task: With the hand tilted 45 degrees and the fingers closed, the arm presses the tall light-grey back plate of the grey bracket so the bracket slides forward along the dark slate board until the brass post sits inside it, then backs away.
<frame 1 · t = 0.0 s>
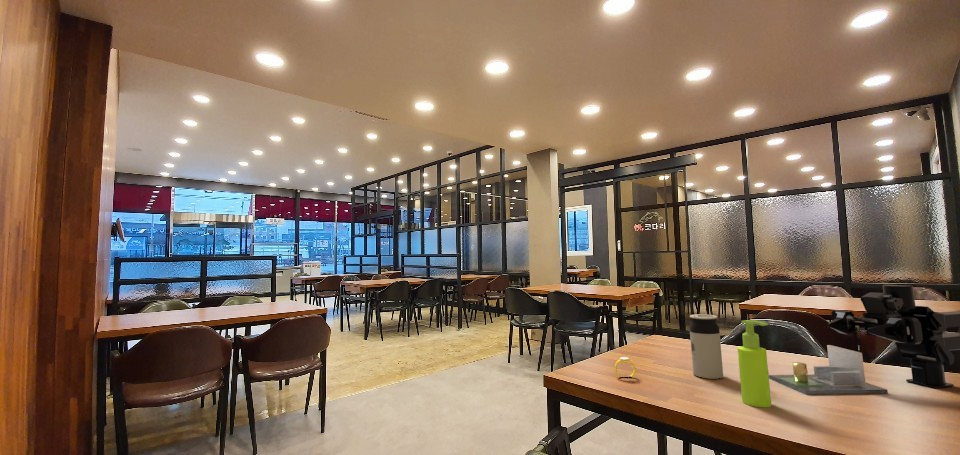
hand: (848, 327, 103), 17 cm above the table, tool horizontal, fingers open, 9 cm apart
travel mug: (708, 376, 120), on the table
soap dispenser: (758, 404, 96), on the table
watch: (625, 378, 121), on the table
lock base: (824, 385, 108), on the table
grey bracket: (834, 364, 108), point 6 cm above the table, slide at 0.0 cm
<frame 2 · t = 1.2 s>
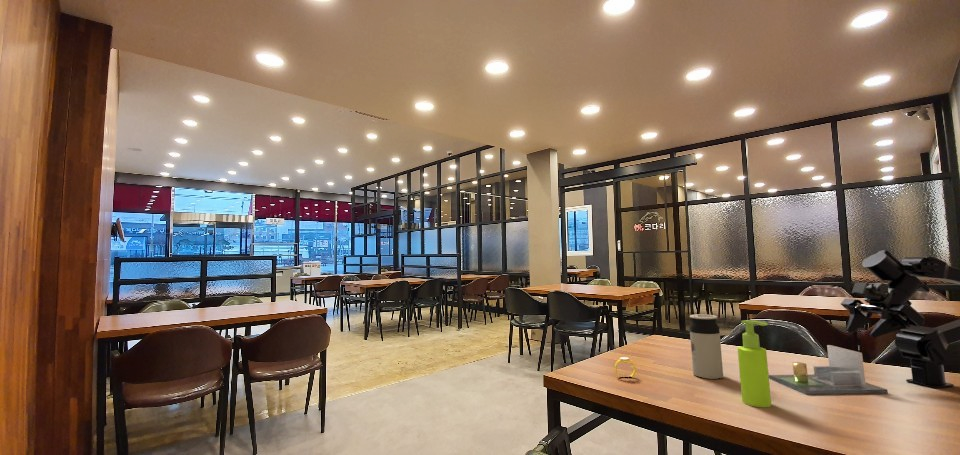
hand: (859, 334, 108), 14 cm above the table, tool tilted 45°, fingers open, 7 cm apart
nothing on the table moved.
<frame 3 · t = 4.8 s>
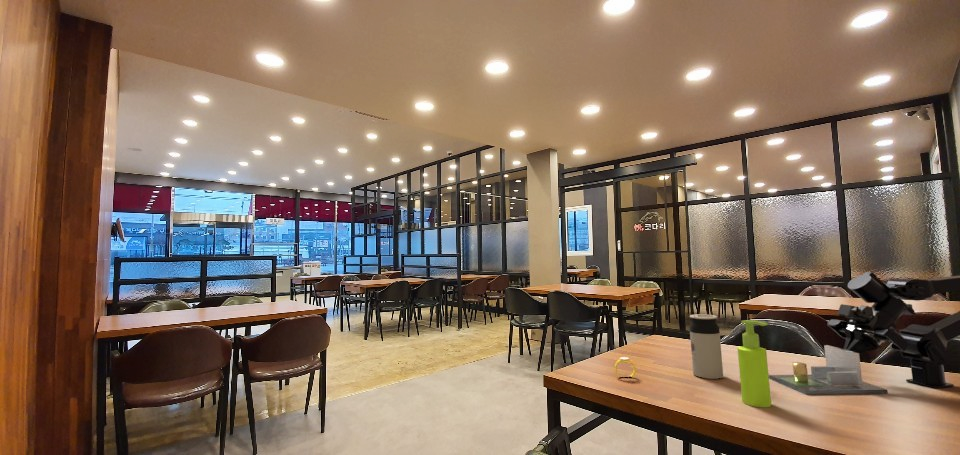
hand: (844, 356, 108), 8 cm above the table, tool tilted 45°, fingers closed, pressing on grey bracket
grey bracket: (832, 364, 108), point 5 cm above the table, slide at 0.8 cm, touching gripper
everything else where it was.
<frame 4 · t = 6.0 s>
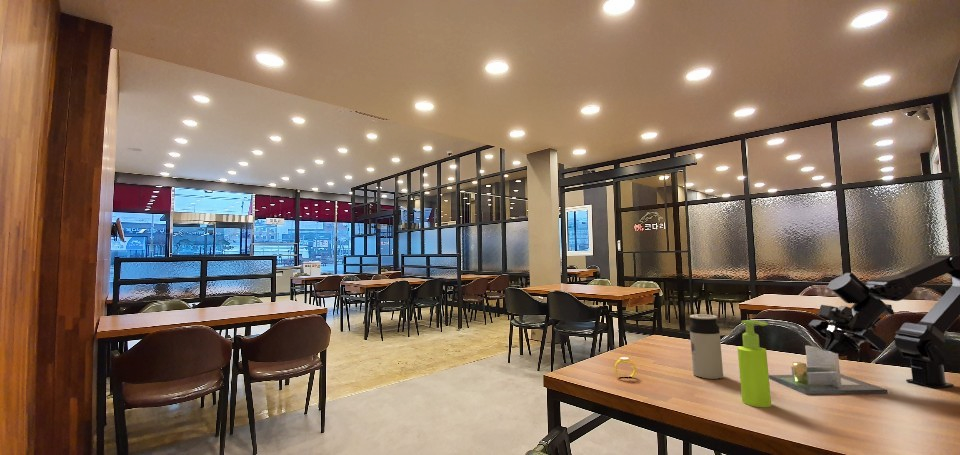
hand: (824, 356, 109), 8 cm above the table, tool tilted 45°, fingers closed, pressing on grey bracket
grey bracket: (812, 365, 109), point 5 cm above the table, slide at 6.0 cm, touching gripper
everything else where it was.
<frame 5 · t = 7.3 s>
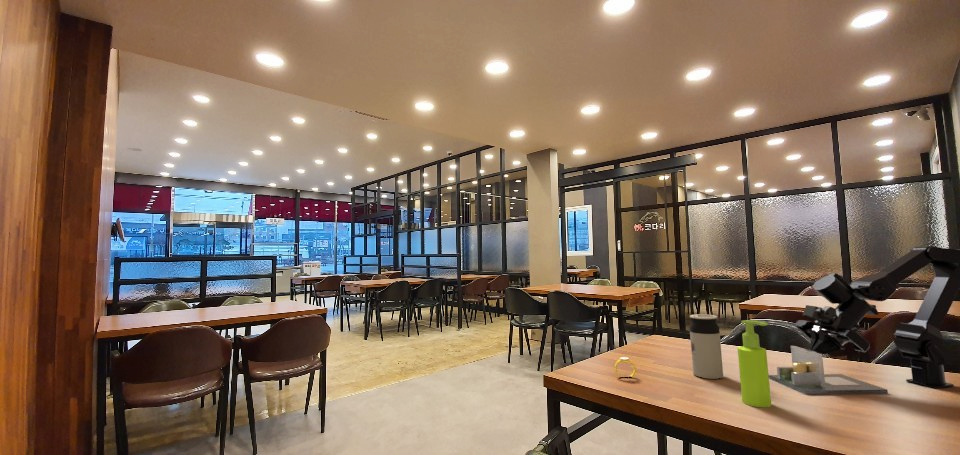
hand: (809, 357, 109), 8 cm above the table, tool tilted 45°, fingers closed, pressing on grey bracket
grey bracket: (796, 365, 109), point 5 cm above the table, slide at 10.0 cm, touching gripper, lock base
everything else where it was.
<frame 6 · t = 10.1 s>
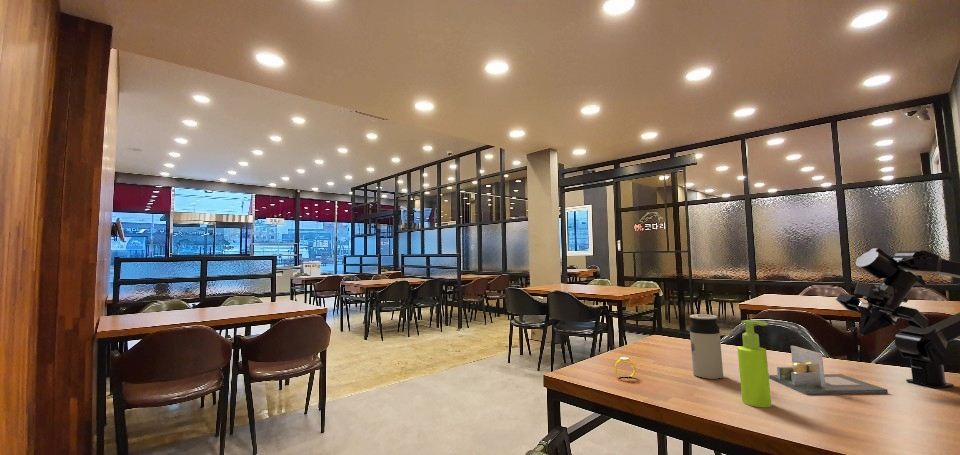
hand: (861, 334, 108), 13 cm above the table, tool tilted 40°, fingers closed
grey bracket: (796, 365, 109), point 5 cm above the table, slide at 10.0 cm, touching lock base
everything else where it was.
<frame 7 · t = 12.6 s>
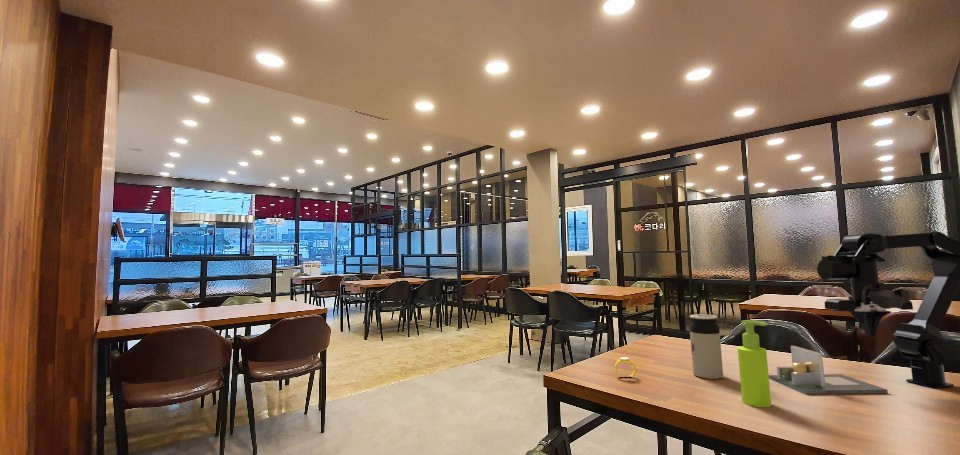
hand: (871, 336, 108), 13 cm above the table, tool pointing down, fingers closed
nothing on the table moved.
at the end: grey bracket slide at 10.0 cm; the gripper is holding nothing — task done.
